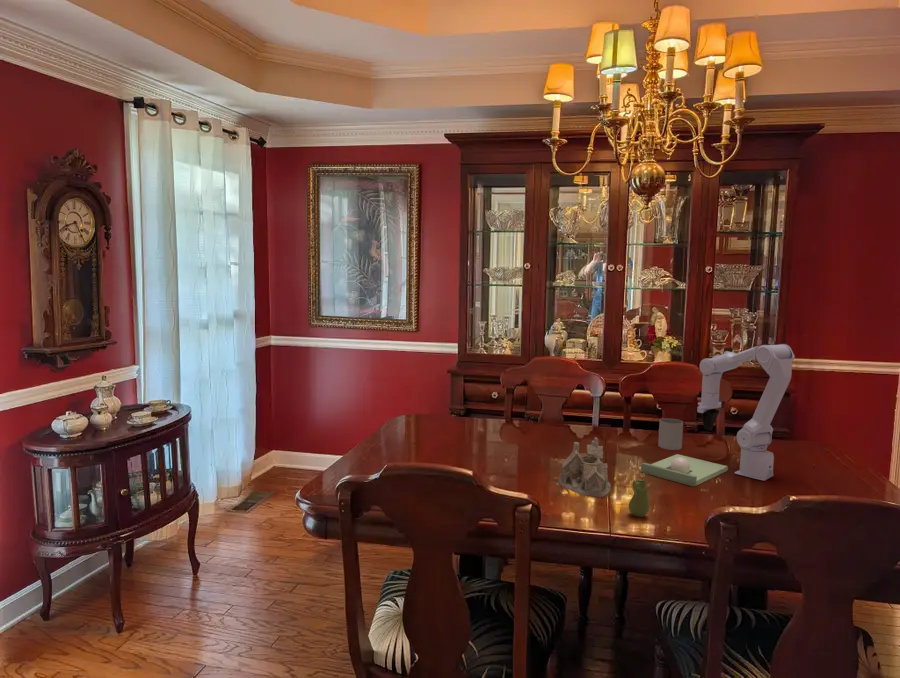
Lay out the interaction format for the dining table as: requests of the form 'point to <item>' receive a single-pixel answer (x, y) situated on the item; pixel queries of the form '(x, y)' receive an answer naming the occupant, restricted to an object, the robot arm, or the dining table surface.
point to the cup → (670, 434)
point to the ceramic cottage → (586, 471)
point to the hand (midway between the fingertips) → (708, 429)
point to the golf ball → (680, 465)
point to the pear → (639, 499)
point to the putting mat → (696, 475)
